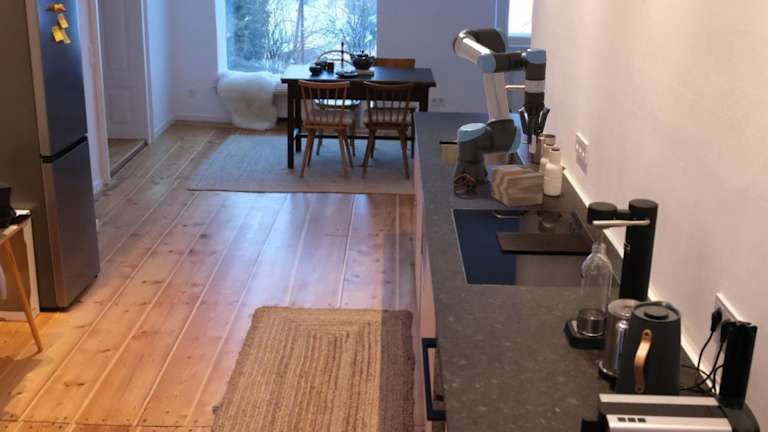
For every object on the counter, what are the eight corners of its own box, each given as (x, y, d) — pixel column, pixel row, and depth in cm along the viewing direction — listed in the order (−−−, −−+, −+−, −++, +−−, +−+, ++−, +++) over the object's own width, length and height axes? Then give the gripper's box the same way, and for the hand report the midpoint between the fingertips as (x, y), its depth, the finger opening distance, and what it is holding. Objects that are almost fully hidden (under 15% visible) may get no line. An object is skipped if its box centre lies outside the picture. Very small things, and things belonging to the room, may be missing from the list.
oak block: (491, 195, 338) (491, 168, 334) (523, 192, 342) (524, 165, 338) (508, 206, 323) (509, 178, 320) (542, 203, 327) (543, 175, 324)
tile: (497, 171, 330) (498, 166, 330) (514, 169, 332) (514, 164, 332) (505, 175, 324) (505, 170, 323) (522, 174, 326) (522, 168, 325)
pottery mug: (480, 196, 338) (471, 180, 334) (459, 205, 341) (450, 189, 337) (479, 181, 348) (470, 165, 344) (458, 190, 351) (449, 174, 347)
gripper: (523, 93, 316) (521, 155, 323) (555, 91, 320) (552, 153, 327) (514, 90, 323) (512, 151, 330) (545, 88, 326) (542, 148, 333)
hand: (532, 152), depth 328 cm, fingers closed
